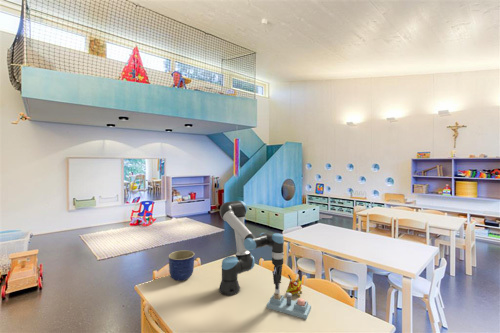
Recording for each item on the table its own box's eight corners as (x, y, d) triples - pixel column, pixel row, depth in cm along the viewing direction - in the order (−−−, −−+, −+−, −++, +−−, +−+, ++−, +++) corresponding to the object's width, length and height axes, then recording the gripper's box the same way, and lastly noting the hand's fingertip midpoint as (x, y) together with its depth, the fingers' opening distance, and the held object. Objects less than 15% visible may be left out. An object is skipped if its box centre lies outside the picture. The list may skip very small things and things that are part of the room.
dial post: (285, 305, 160) (285, 294, 160) (287, 302, 163) (287, 292, 163) (290, 306, 158) (290, 296, 158) (292, 303, 161) (292, 293, 161)
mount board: (266, 307, 161) (266, 299, 161) (273, 298, 172) (273, 291, 172) (306, 319, 149) (306, 310, 149) (311, 309, 160) (311, 300, 160)
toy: (302, 297, 170) (291, 276, 173) (289, 301, 174) (279, 281, 177) (306, 288, 182) (296, 269, 186) (294, 292, 186) (285, 273, 189)
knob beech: (272, 304, 163) (272, 294, 163) (275, 301, 167) (275, 291, 167) (279, 306, 161) (279, 295, 161) (281, 303, 165) (281, 292, 165)
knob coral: (296, 312, 156) (296, 301, 156) (298, 308, 160) (298, 297, 160) (303, 314, 154) (303, 302, 154) (305, 310, 158) (305, 299, 158)
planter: (162, 279, 199) (162, 255, 198) (182, 270, 216) (182, 248, 216) (180, 286, 188) (180, 261, 188) (199, 276, 205) (199, 253, 205)
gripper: (279, 262, 156) (279, 299, 156) (286, 255, 168) (285, 290, 168) (268, 260, 160) (268, 296, 160) (275, 253, 171) (275, 287, 171)
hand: (277, 293), depth 164 cm, fingers closed
